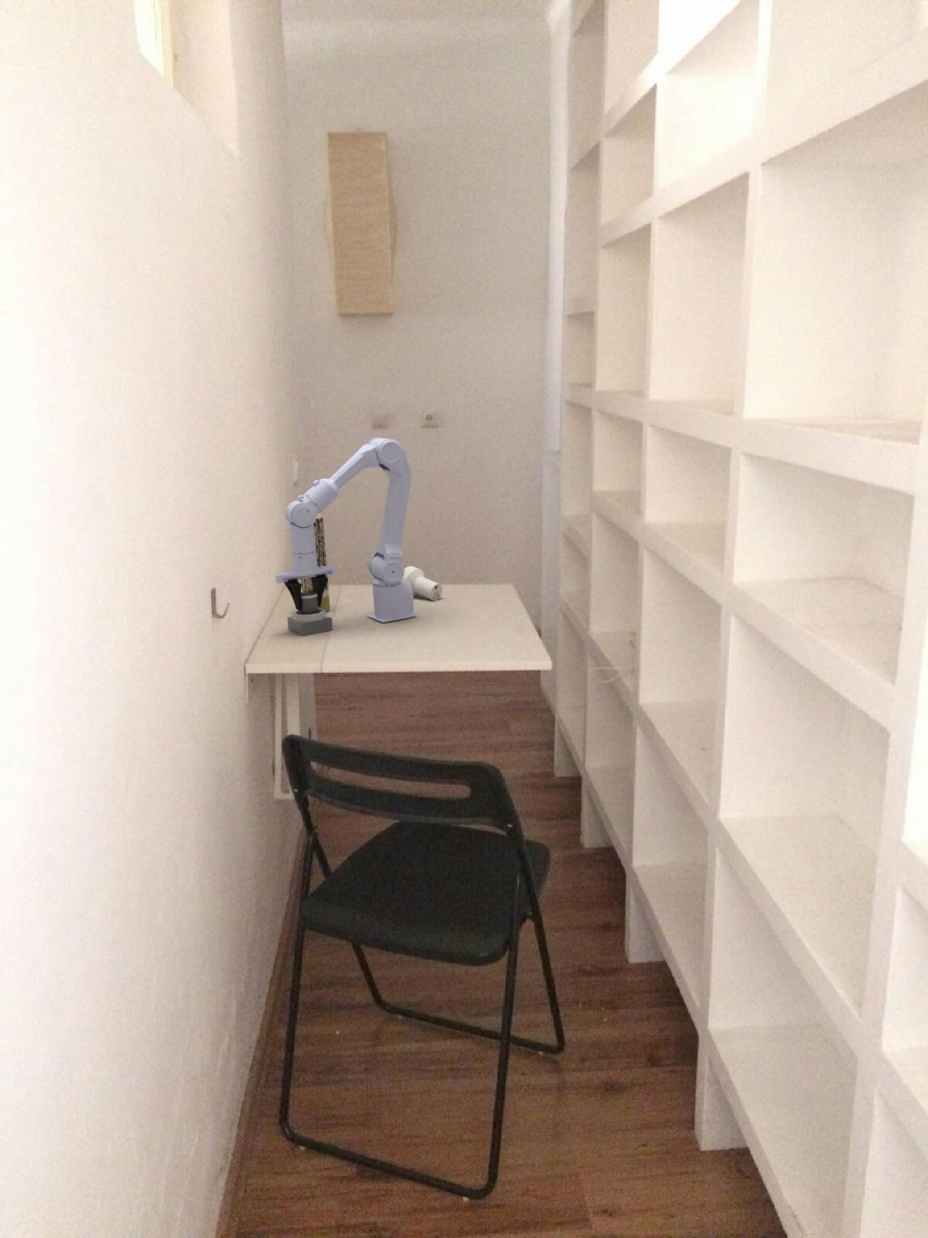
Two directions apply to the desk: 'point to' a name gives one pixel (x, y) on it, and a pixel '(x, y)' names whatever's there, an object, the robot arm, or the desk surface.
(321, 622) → the mount
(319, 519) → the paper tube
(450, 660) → the desk surface
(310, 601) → the lens
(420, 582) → the spotlight
